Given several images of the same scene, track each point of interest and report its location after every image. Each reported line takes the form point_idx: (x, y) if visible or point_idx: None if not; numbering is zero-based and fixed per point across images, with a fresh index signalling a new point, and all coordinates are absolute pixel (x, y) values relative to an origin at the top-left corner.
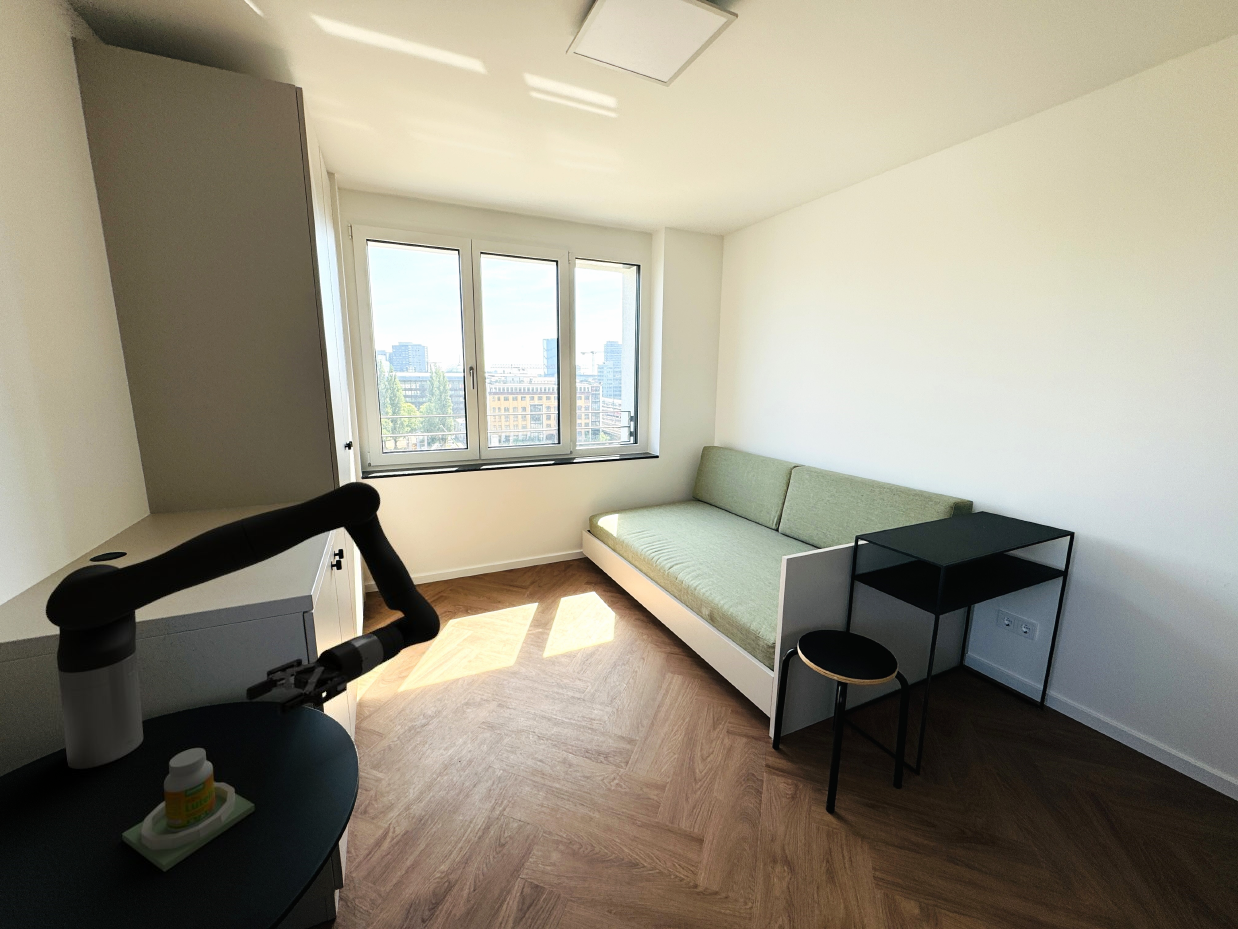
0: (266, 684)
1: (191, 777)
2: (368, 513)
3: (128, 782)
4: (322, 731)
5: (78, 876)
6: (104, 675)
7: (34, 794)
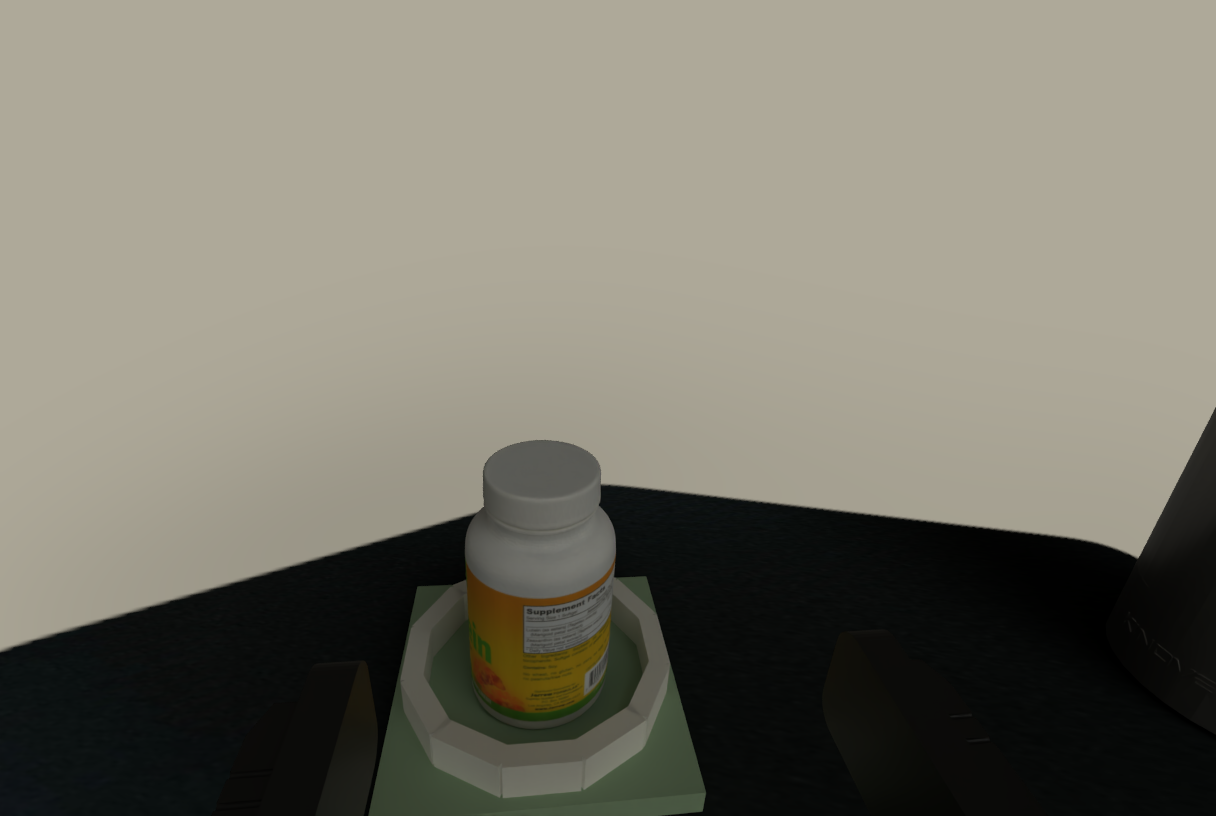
0: (935, 806)
1: (484, 510)
2: None
3: (948, 664)
4: None
5: None
6: None
7: (1019, 552)
